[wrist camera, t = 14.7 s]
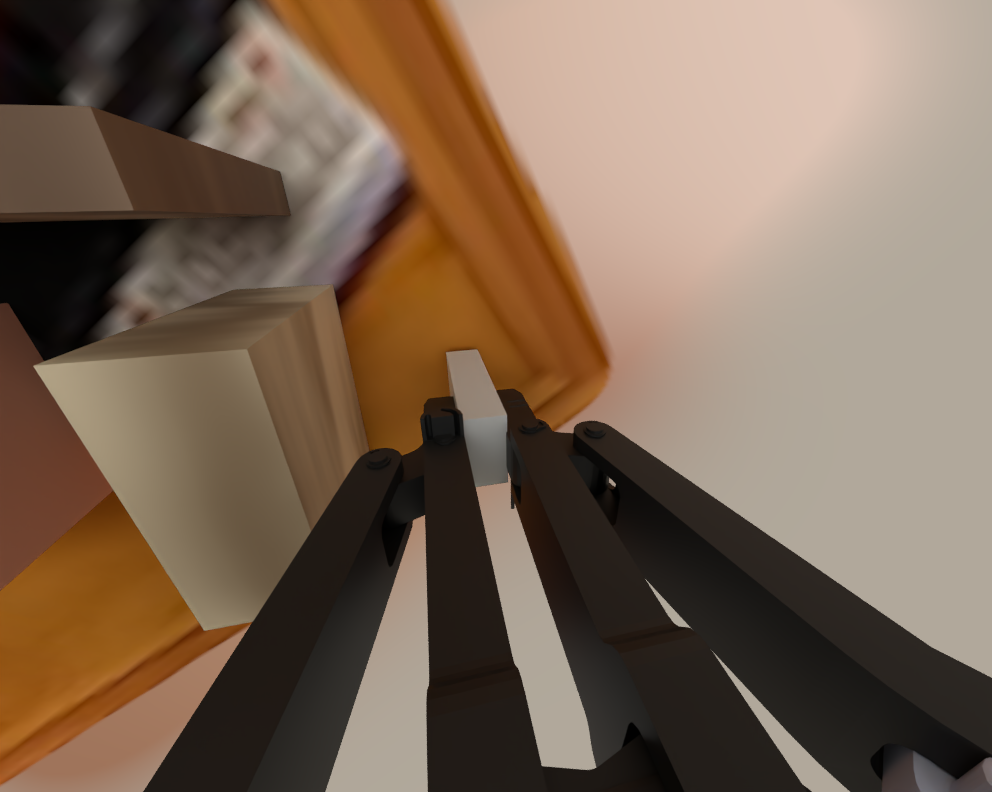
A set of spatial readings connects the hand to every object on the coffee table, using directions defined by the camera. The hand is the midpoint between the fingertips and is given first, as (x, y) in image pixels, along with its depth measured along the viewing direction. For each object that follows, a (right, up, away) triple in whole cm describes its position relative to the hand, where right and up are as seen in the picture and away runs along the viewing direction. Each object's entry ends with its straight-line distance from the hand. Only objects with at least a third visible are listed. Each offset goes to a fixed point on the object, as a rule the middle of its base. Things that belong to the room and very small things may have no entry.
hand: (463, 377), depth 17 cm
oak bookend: (-8, 0, 0) cm, 8 cm away
